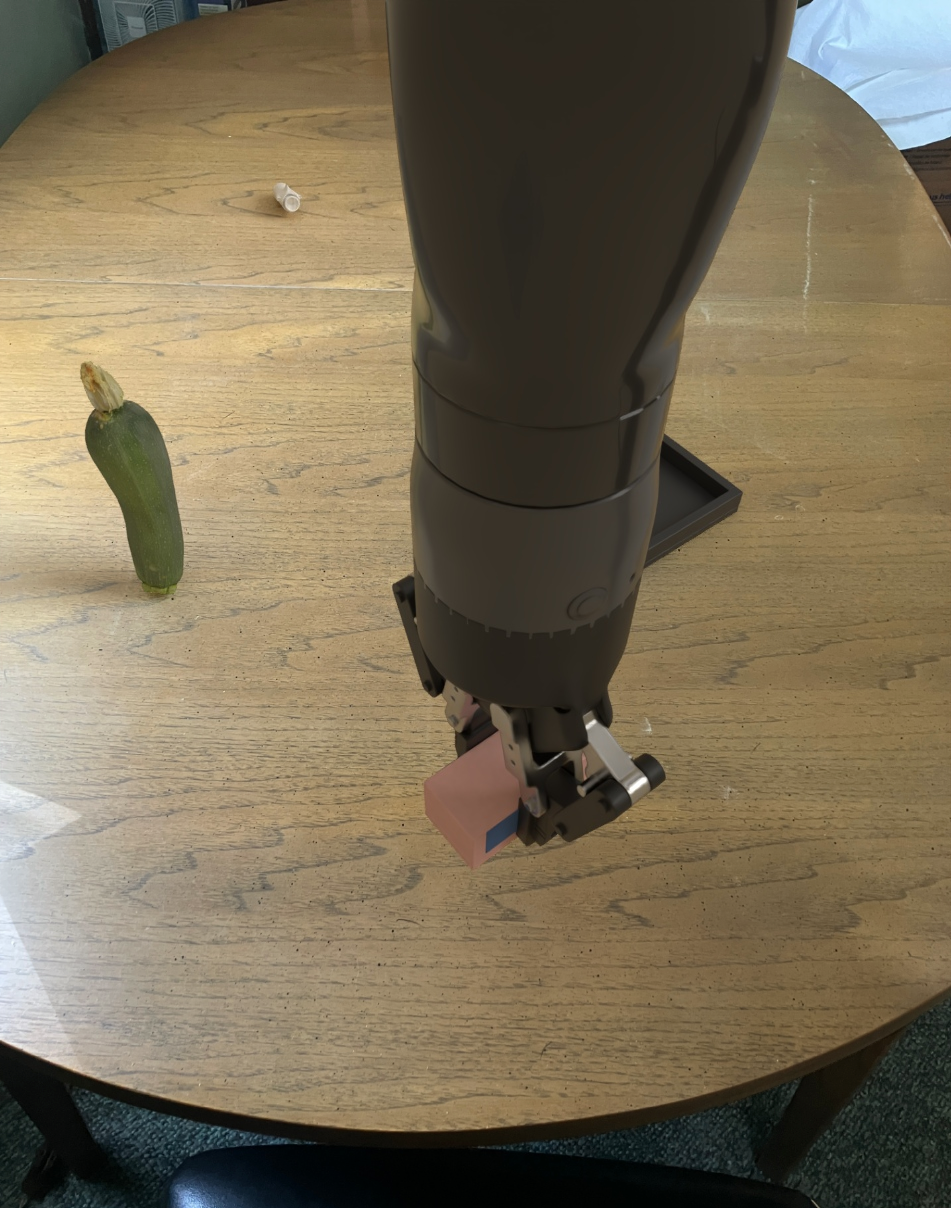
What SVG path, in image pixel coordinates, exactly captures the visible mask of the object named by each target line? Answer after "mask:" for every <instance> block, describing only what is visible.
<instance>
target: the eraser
mask: <svg viewBox="0 0 951 1208" xmlns="http://www.w3.org/2000/svg"><path fill="white" fill-rule="evenodd" d="M582 763H583V775H584V780H586V779H587V778H586V775H585V767H586V766H587V761H586V757H585V755H584V753H583V754H582ZM422 783H423V799H424V813H425V816H426V817H427V819H428V820H429V821H430V822H431V824H433V826H434V827H435V828H436V829H437V830H438V832H439V833H440V834H441V835H442V836H443V838H444V839H445V841H447V843H448V844H449V845H450V846H451V847H452V849H454V851H455V852H456V853H457V854H458V856H459V857H460V858H461V859H462V860H463V862H464V863H465V864H466V865H467V866H468V868H469V869H470V870H471V871H475V870H476V869H477V868H479V867H480V866H481V865H482V864H484V863H485V862H487V861H488V860H489V859H490V858H492V857H494V856H495V855H496V854H497V853H498V852H500V851H501V850H503V849H504V848H506V846H508V845H510V844H511V843H512V842H513V841H515V840H517V838H518V837H517V835H516V831H517V823H518V813H519V810H518V803H519V798H520V797H521V794H520V788H519V781H518V779H517V778H516V777H514V776H513V775H512V774H511V773H510V772H509V771H508V770H507V769H506V767H505V761H504V755H503V749H502V743H501V737H500V731H497V732H496V733H494V734H493V735H491V736H490V737H488V738H487V739H485V740H484V741H483V742H481V743H480V744H478V745H477V746H475V747H474V748H472V749H471V750H469V751H468V752H466V753H464V754H463V755H461V756H460V757H459V758H457V757H456V758H455V759H454V760H453V761H451V762H449V763H448V764H447V765H445V766H444V767H443V768H441V769H440V770H438V771H436V772H435V773H433V774H432V775H431V776H430V777H428V778H427V779H425V780H424V781H423V782H422Z"/></svg>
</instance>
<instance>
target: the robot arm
mask: <svg viewBox="0 0 951 1208" xmlns="http://www.w3.org/2000/svg"><path fill="white" fill-rule="evenodd" d="M798 3H799V0H384V11H385V29H386V30H385V31H386V43H387V44H386V45H387V59H388V72H389V82H390V83H389V84H390V93H391V105H392V115H393V122H394V123H393V124H394V133H395V141H396V150H397V159H398V166H399V167H398V168H399V174H400V183H401V189H402V190H401V191H402V196H403V203H404V210H405V216H406V217H405V218H406V223H407V230H408V236H409V242H410V249H411V256H412V260H413V263H414V271H413V282H412V295H411V306H410V307H411V308H410V348H411V349H410V351H411V368H412V369H411V371H412V373H411V374H412V391H413V413H414V415H413V416H414V440H413V451H412V457H411V464H410V471H409V472H410V474H409V507H410V524H411V525H410V526H411V527H410V528H411V542H412V543H411V544H412V562H413V571H412V572H410V573H408V574H407V575H406V576H404V577H403V578H400V579H399V580H398V581H396V582H394V583H392V585H391V588H392V589H391V590H392V594H393V597H394V600H395V603H396V607H397V609H398V610H397V611H398V613H399V616H400V619H401V622H402V625H403V629H404V632H405V635H406V638H407V641H408V645H409V648H410V651H411V654H412V657H413V661H414V664H415V668H416V670H417V673H418V676H419V677H418V678H419V680H420V683H421V686H422V688H423V690H424V691H425V692H426V693H427V694H428V695H429V696H430V697H432V698H433V699H436V698H437V697H438V696H440V695H441V697H442V698H443V700H444V701H445V702H446V705H445V708H444V715H445V718H446V721H447V723H448V725H449V726H450V727H451V728H452V729H453V730H454V748H455V752H456V759H457V758H459V757H460V756H461V755H463V754H464V753H466V752H468V751H469V750H471V749H472V748H474V747H475V746H477V745H478V744H480V743H481V742H483V741H484V740H485V739H487V738H488V737H490V736H491V735H493V734H494V733H496V732H497V731H500V737H501V743H502V749H503V755H504V761H505V767H506V769H507V770H508V771H509V772H510V773H511V774H512V775H513V776H514V777H516V778H517V779H518V781H519V788H520V794H521V797H520V798H519V803H518V810H519V813H518V823H517V831H516V835H517V838H518V839H519V840H520V842H522V843H523V845H524V846H525V847H529V846H532V845H533V844H535V843H536V844H537V845H538V846H539V847H543V846H544V845H546V844H547V843H549V842H550V841H551V840H552V839H554V838H555V837H557V836H559V837H560V838H561V839H562V840H563V841H565V842H566V843H572V842H574V841H575V840H578V839H579V838H582V837H584V836H586V835H588V834H590V833H591V832H593V831H595V830H597V829H599V828H601V827H603V826H606V825H607V824H609V823H612V822H614V821H616V820H617V819H618V818H619V817H620V816H622V815H623V814H624V813H626V812H627V811H628V810H629V809H631V808H632V807H633V806H635V805H636V804H637V803H639V801H641V800H642V799H643V798H645V797H646V796H648V795H649V794H650V793H651V792H652V791H654V790H655V789H656V788H657V787H660V785H661V784H663V783H664V782H665V781H666V779H667V777H666V772H665V769H664V767H663V766H662V764H661V763H660V762H659V760H658V759H657V758H656V757H654V756H653V755H652V754H650V753H647V752H643V753H642V754H640V755H638V756H637V757H634V758H633V755H632V754H631V753H630V752H629V751H627V750H624V748H623V747H622V746H621V744H620V743H619V741H618V740H617V739H616V737H615V736H614V735H613V733H612V732H611V731H610V727H611V726H612V724H613V719H614V710H613V705H612V703H611V699H610V695H609V685H610V683H611V680H612V679H613V676H614V674H615V672H616V670H617V668H618V666H619V665H620V662H621V660H622V658H623V656H624V653H625V650H626V647H627V644H628V641H629V636H630V631H631V627H632V624H633V618H634V613H635V609H636V604H637V601H638V596H639V591H640V586H641V583H642V578H643V573H644V570H645V569H644V564H645V559H646V555H647V550H648V546H649V541H650V537H651V533H652V528H653V524H654V519H655V514H656V508H657V502H658V493H659V464H660V452H661V445H662V440H663V436H664V433H665V430H666V428H667V427H666V426H667V422H668V417H669V412H670V407H671V402H672V398H673V394H674V390H675V389H674V388H675V383H676V380H677V374H678V371H679V364H680V362H681V361H680V360H681V354H682V348H683V347H682V346H683V342H684V341H683V340H684V336H685V335H684V334H685V326H686V325H685V324H686V317H687V313H688V310H689V308H690V306H691V305H692V303H693V301H694V299H695V298H696V296H697V294H698V292H699V291H700V288H701V286H702V285H703V283H704V281H705V279H706V277H707V275H708V272H709V271H710V269H711V266H712V264H713V262H714V259H715V257H716V255H717V252H718V250H719V247H720V245H721V242H722V240H723V238H724V236H725V232H726V230H727V228H728V226H729V223H730V222H731V219H732V216H733V214H734V212H735V210H736V207H737V205H738V203H739V200H740V198H741V196H742V193H743V190H744V189H745V186H746V183H747V181H748V180H749V179H748V178H749V177H750V174H751V171H752V170H753V167H754V164H755V161H756V159H757V156H758V154H759V151H760V148H761V145H762V143H763V141H764V137H765V135H766V132H767V129H768V126H769V123H770V120H771V117H772V114H773V111H774V108H775V104H776V101H777V97H778V93H779V91H780V90H779V89H780V86H781V83H782V80H783V79H782V78H783V75H784V71H785V67H786V63H787V58H788V54H789V50H790V45H791V40H792V36H793V31H794V26H795V20H796V15H797V9H798ZM583 753H584V755H585V757H586V761H587V766H586V767H585V775H586V778H587V779H586V780H584V775H583V763H582V754H583Z"/></svg>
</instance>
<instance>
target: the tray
mask: <svg viewBox="0 0 951 1208" xmlns="http://www.w3.org/2000/svg"><path fill="white" fill-rule="evenodd" d="M743 494H744V491H742V489H740V488H739V487H738V486H736V485H735V484H734V483H732V482H731V481H729V480H728V479H727V478H725V477H724V476H723V475H722V474H720V473H719V472H717V471H716V470H714V469H713V468H712V467H711V466H709V465H708V464H707V463H705V462H704V461H703V460H702V459H700V458H698V457H697V456H696V455H694V454H693V453H692V452H690V451H689V450H687V449H686V448H685V447H684V446H682V445H681V444H680V443H679V442H677V441H675V439H673V438H672V437H671V436H669V435H667V434H666V433H665V432H664V436H663V440H662V445H661V452H660V464H659V493H658V502H657V508H656V514H655V519H654V524H653V528H652V533H651V537H650V541H649V546H648V550H647V555H646V559H645V564H644V569H643V570H645V569H646V568H648V567H649V566H651V565H653V564H654V563H656V562H657V561H660V560H661V559H662V558H664V557H665V556H667V555H669V554H670V553H672V552H674V551H675V550H677V549H678V548H680V547H682V546H684V545H685V544H687V543H688V542H690V541H691V540H694V539H695V538H696V537H697V536H699V535H700V536H701V534H703V533H705V532H706V531H708V530H710V529H712V528H713V527H714V526H716V525H718V524H719V523H720V522H723V521H724V520H726V519H727V518H729V517H731V516H732V515H734V514H736V513H737V512H738V509H739V507H740V504H741V502H742V501H741V500H742V497H743Z"/></svg>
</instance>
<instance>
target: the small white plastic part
mask: <svg viewBox="0 0 951 1208" xmlns="http://www.w3.org/2000/svg"><path fill="white" fill-rule="evenodd" d="M272 194H273V195H272V196H273V198H274V199H275V200H276V201H277V202H278V203H279V204H280V206H281V207H282V208H283V209H284V211H286V212H288V213H294V212H297V210H298V209H299V208H300V207H301V199H302V195H301V194H299V193H298V192H296V191H294V190H293V189H292V188H290V186H289V185H288V183H287V182H286V183H285V182H277V183H276V184H275V185H274V186H273V189H272Z"/></svg>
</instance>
